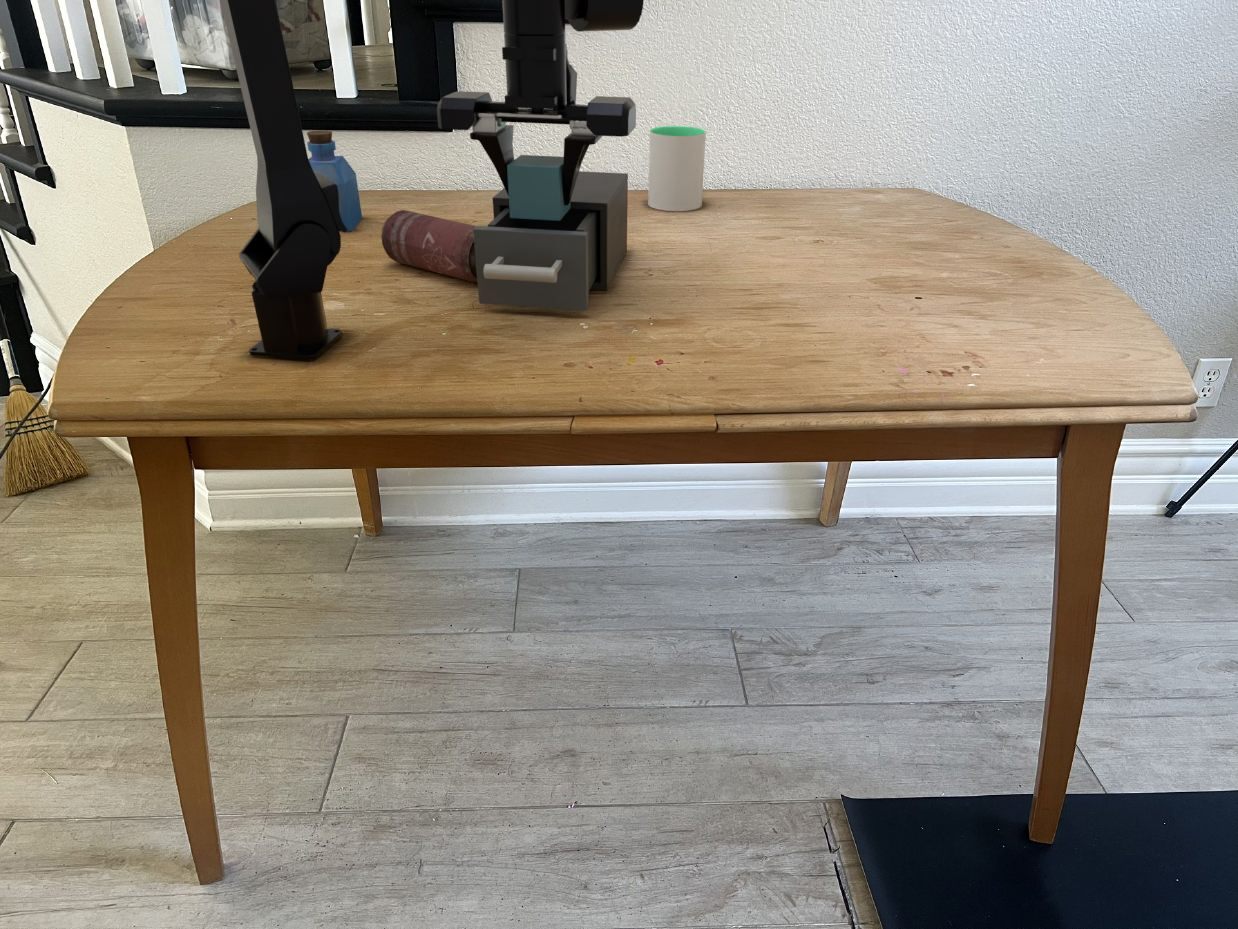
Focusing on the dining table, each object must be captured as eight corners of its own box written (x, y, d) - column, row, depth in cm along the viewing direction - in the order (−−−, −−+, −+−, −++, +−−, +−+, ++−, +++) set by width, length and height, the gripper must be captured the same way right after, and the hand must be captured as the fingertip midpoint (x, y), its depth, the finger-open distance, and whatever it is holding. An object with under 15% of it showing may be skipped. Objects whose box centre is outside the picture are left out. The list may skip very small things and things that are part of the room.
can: (408, 269, 105) (493, 292, 99) (372, 248, 100) (459, 271, 93) (425, 224, 105) (512, 243, 99) (390, 200, 100) (479, 219, 93)
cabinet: (607, 290, 95) (607, 203, 90) (497, 283, 97) (492, 197, 92) (626, 251, 108) (628, 173, 103) (529, 246, 109) (526, 168, 104)
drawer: (577, 327, 84) (576, 248, 80) (465, 319, 85) (458, 241, 81) (608, 269, 99) (609, 201, 95) (513, 263, 100) (509, 196, 96)
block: (560, 221, 86) (558, 167, 83) (509, 218, 86) (506, 165, 84) (570, 208, 90) (569, 156, 87) (522, 205, 91) (520, 154, 88)
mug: (635, 193, 134) (636, 122, 129) (684, 190, 136) (687, 120, 131) (656, 212, 124) (658, 137, 119) (709, 209, 126) (713, 135, 121)
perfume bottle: (362, 218, 120) (349, 128, 114) (352, 231, 115) (337, 136, 108) (317, 218, 120) (302, 128, 114) (305, 231, 114) (288, 136, 108)
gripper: (645, 29, 85) (641, 189, 93) (465, 25, 88) (476, 181, 96) (628, 38, 76) (625, 215, 84) (427, 33, 78) (443, 206, 86)
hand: (540, 203), depth 88 cm, fingers closed on block, 5 cm apart
